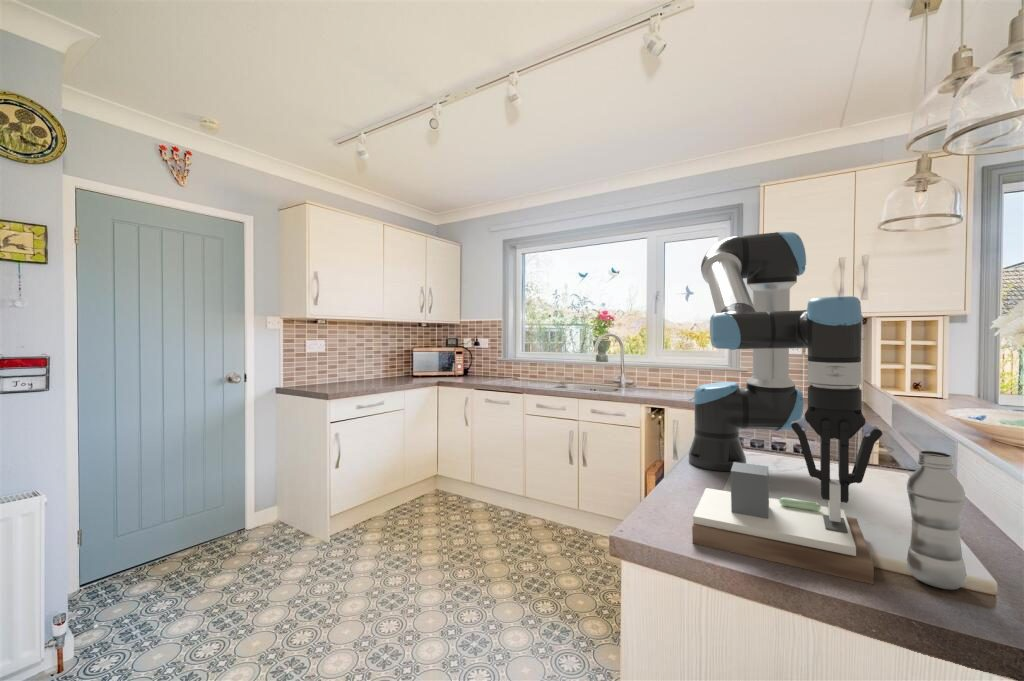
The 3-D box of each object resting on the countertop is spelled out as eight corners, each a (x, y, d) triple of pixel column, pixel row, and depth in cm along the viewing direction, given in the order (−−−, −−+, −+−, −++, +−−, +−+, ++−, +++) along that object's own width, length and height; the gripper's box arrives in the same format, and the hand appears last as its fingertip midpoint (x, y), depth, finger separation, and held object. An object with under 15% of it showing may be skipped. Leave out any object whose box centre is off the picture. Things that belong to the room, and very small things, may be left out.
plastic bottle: (977, 590, 63) (977, 457, 63) (948, 600, 61) (948, 462, 61) (924, 567, 70) (924, 446, 69) (896, 576, 68) (895, 450, 67)
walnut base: (706, 507, 95) (706, 493, 95) (856, 534, 81) (856, 518, 81) (692, 543, 79) (692, 526, 79) (873, 584, 66) (873, 563, 65)
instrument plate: (706, 494, 94) (705, 451, 94) (843, 517, 81) (843, 467, 81) (693, 523, 80) (692, 473, 80) (856, 556, 67) (855, 497, 67)
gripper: (789, 386, 75) (790, 518, 76) (887, 390, 68) (887, 536, 69) (789, 381, 81) (790, 503, 82) (878, 384, 74) (878, 517, 75)
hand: (834, 518), depth 75 cm, fingers closed
